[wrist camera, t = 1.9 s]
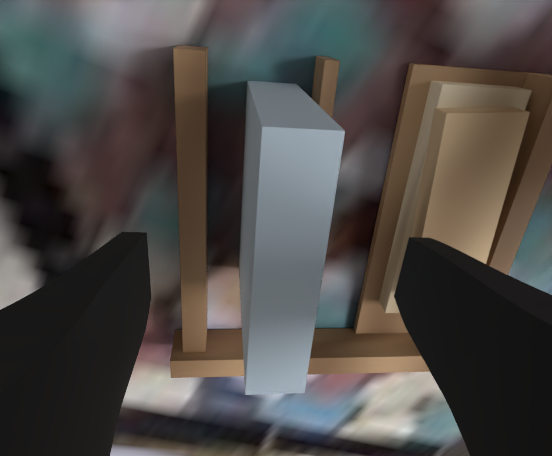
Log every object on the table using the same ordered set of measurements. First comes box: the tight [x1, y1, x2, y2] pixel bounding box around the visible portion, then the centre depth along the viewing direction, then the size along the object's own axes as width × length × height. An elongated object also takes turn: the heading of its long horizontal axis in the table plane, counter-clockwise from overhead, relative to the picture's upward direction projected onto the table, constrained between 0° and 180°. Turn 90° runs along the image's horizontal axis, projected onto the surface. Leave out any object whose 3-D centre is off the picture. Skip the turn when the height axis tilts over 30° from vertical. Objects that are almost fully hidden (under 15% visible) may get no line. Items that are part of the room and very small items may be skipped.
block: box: [239, 81, 345, 395], centre depth 14 cm, size 2×8×7 cm, turn 176°
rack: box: [170, 45, 552, 378], centre depth 17 cm, size 14×14×2 cm
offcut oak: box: [411, 107, 530, 264], centre depth 16 cm, size 3×8×1 cm, turn 0°
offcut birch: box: [379, 81, 532, 313], centre depth 17 cm, size 3×10×1 cm, turn 176°
